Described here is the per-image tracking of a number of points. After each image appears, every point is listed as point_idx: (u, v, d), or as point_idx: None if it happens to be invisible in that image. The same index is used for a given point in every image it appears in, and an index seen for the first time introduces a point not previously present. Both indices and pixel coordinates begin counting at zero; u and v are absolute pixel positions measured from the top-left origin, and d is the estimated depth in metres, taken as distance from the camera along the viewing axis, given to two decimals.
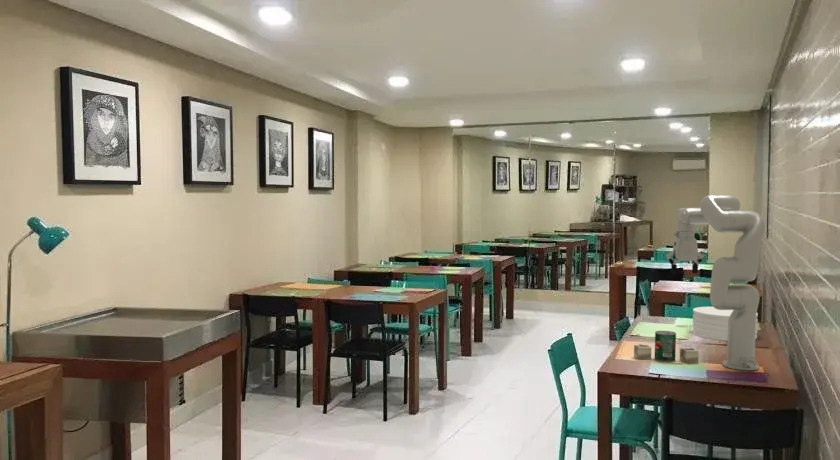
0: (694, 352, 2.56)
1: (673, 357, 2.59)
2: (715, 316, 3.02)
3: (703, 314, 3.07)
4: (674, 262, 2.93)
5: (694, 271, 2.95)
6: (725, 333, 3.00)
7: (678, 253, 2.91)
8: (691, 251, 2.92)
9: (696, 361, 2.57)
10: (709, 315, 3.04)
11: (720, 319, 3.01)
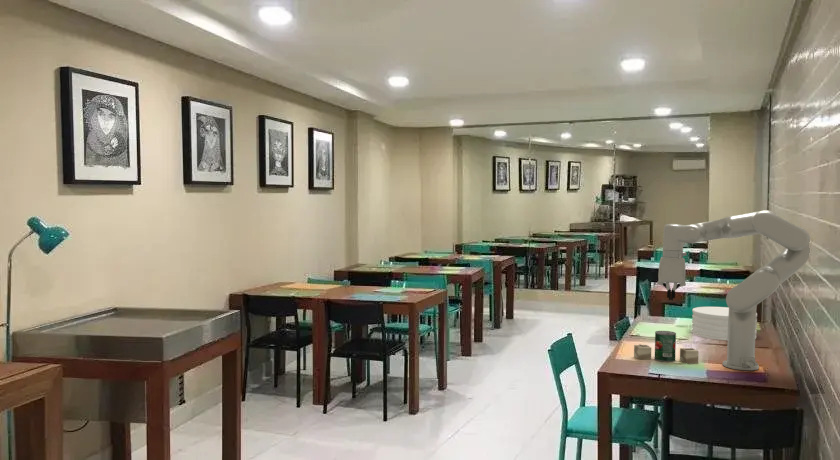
0: (694, 352, 2.56)
1: (673, 357, 2.59)
2: (714, 316, 3.02)
3: (702, 314, 3.07)
4: None
5: None
6: (724, 333, 3.00)
7: None
8: None
9: (696, 361, 2.57)
10: (708, 315, 3.04)
11: (719, 319, 3.01)
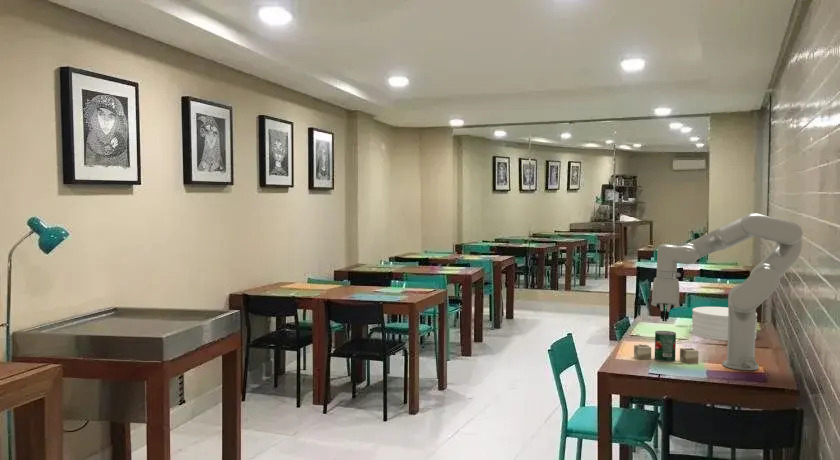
0: (694, 352, 2.56)
1: (673, 357, 2.59)
2: (714, 316, 3.02)
3: (702, 314, 3.07)
4: None
5: None
6: (724, 333, 3.00)
7: None
8: None
9: (696, 361, 2.57)
10: (708, 315, 3.04)
11: (719, 319, 3.01)
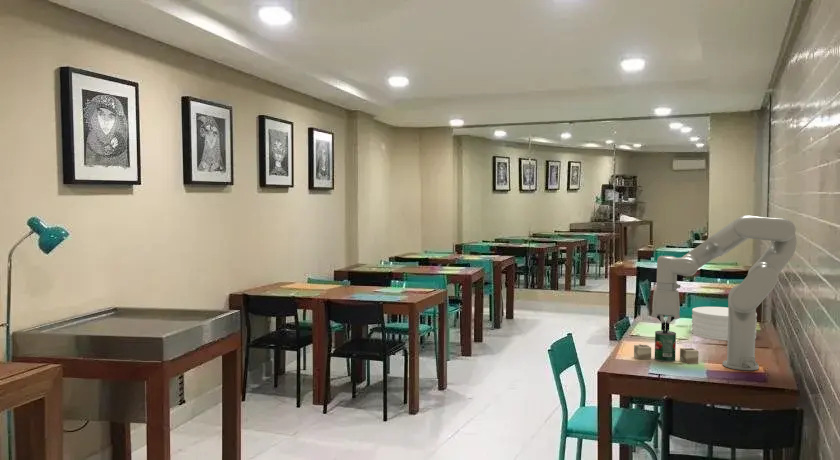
0: (694, 352, 2.56)
1: (673, 357, 2.59)
2: (714, 316, 3.02)
3: (702, 314, 3.07)
4: None
5: None
6: (724, 333, 3.00)
7: None
8: None
9: (696, 361, 2.57)
10: (708, 315, 3.04)
11: (719, 319, 3.01)
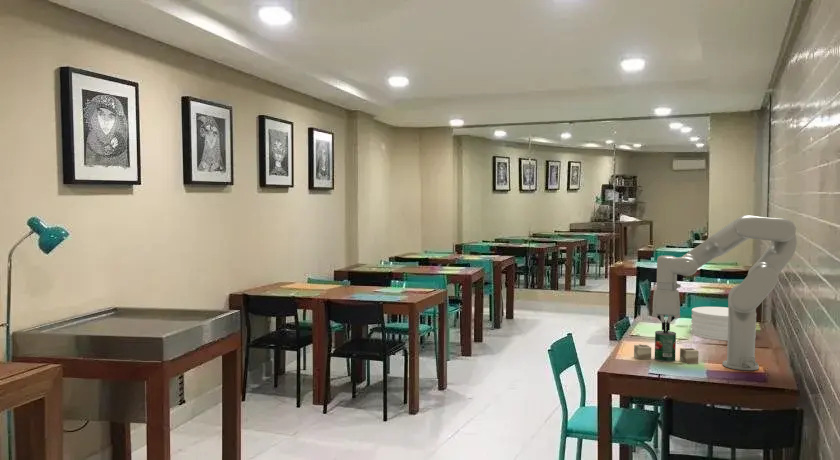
0: (694, 352, 2.56)
1: (673, 357, 2.59)
2: (714, 316, 3.02)
3: (702, 314, 3.07)
4: None
5: None
6: (724, 333, 3.00)
7: None
8: None
9: (696, 361, 2.57)
10: (708, 315, 3.04)
11: (719, 319, 3.01)
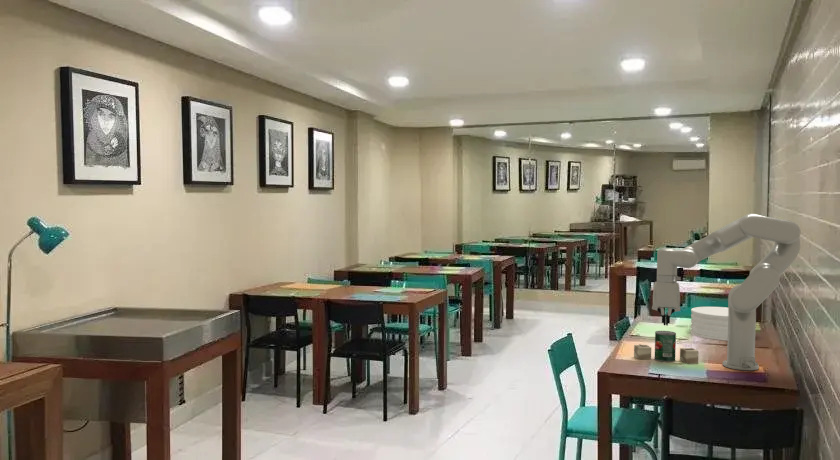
0: (694, 352, 2.56)
1: (673, 357, 2.59)
2: (713, 316, 3.02)
3: (701, 314, 3.07)
4: None
5: None
6: (723, 333, 3.00)
7: None
8: None
9: (696, 361, 2.57)
10: (707, 315, 3.04)
11: (718, 319, 3.01)
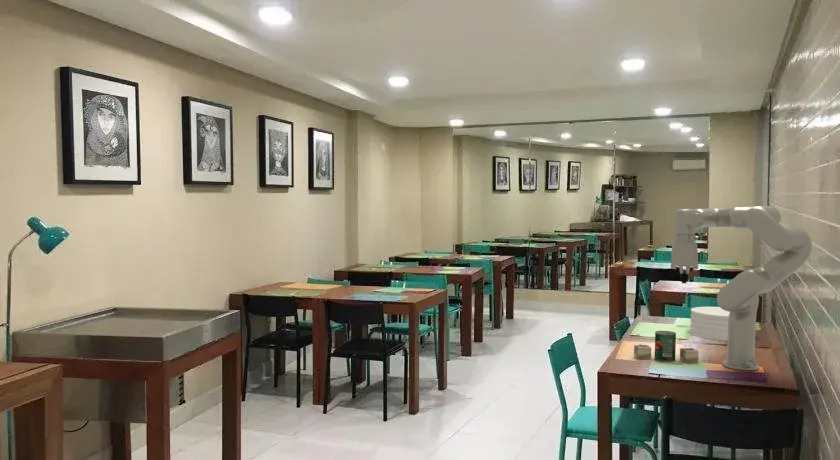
0: (694, 352, 2.56)
1: (673, 357, 2.59)
2: (713, 316, 3.02)
3: (701, 314, 3.07)
4: None
5: None
6: (723, 333, 3.00)
7: None
8: None
9: (696, 361, 2.57)
10: (707, 315, 3.04)
11: (718, 319, 3.01)
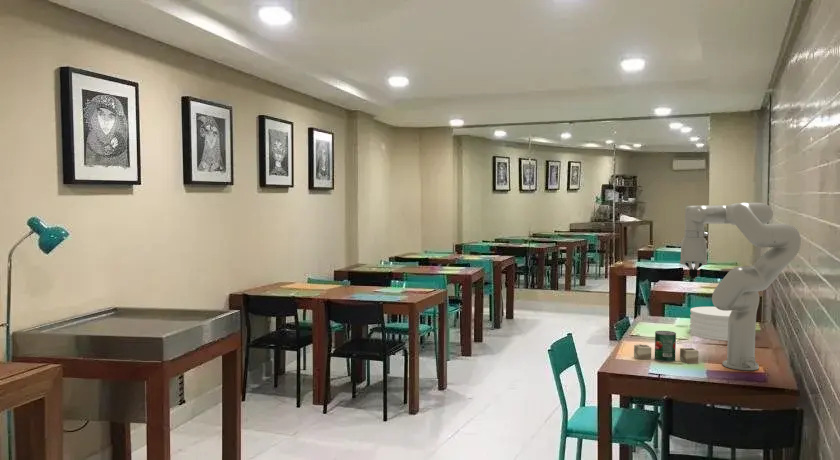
0: (694, 352, 2.56)
1: (673, 357, 2.59)
2: (712, 316, 3.02)
3: (700, 314, 3.07)
4: None
5: None
6: (722, 333, 3.00)
7: None
8: None
9: (696, 361, 2.57)
10: (706, 315, 3.04)
11: (717, 319, 3.01)
